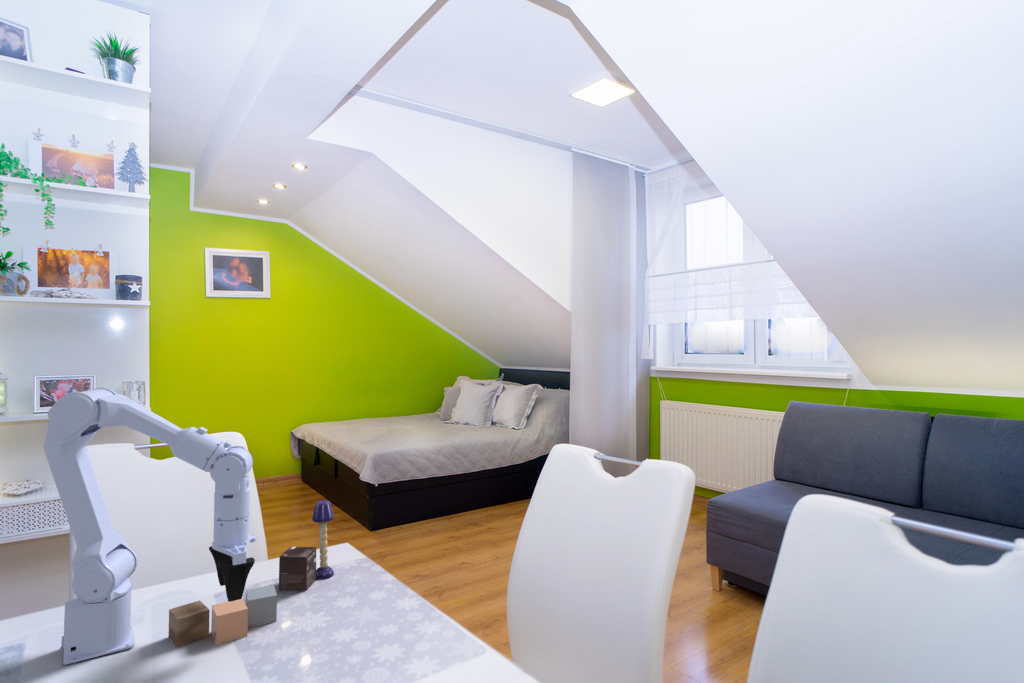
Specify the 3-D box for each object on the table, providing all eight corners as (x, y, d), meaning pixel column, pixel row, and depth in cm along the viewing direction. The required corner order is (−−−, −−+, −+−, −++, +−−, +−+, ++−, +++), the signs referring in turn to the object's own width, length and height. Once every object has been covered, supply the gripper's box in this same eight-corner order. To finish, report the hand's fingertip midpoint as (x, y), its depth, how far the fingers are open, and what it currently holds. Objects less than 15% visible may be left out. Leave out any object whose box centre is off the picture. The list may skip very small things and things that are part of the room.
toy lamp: (313, 581, 124) (314, 505, 124) (309, 573, 128) (310, 500, 128) (335, 577, 126) (336, 502, 126) (331, 569, 130) (332, 497, 130)
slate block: (247, 627, 104) (247, 600, 104) (245, 615, 108) (245, 589, 108) (276, 621, 106) (277, 595, 106) (273, 610, 110) (274, 585, 111)
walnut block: (177, 648, 96) (178, 619, 96) (168, 637, 100) (169, 609, 100) (208, 637, 100) (209, 609, 100) (199, 627, 103) (199, 600, 103)
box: (306, 591, 119) (306, 557, 119) (277, 591, 119) (278, 556, 119) (316, 579, 125) (317, 546, 125) (289, 579, 125) (290, 546, 125)
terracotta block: (216, 645, 98) (216, 616, 98) (211, 633, 102) (211, 605, 102) (247, 636, 101) (247, 608, 101) (241, 625, 105) (241, 598, 105)
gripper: (265, 522, 98) (264, 600, 98) (246, 503, 109) (245, 572, 109) (220, 530, 94) (219, 612, 93) (206, 509, 105) (204, 581, 105)
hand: (230, 591), depth 101 cm, fingers open, 7 cm apart
